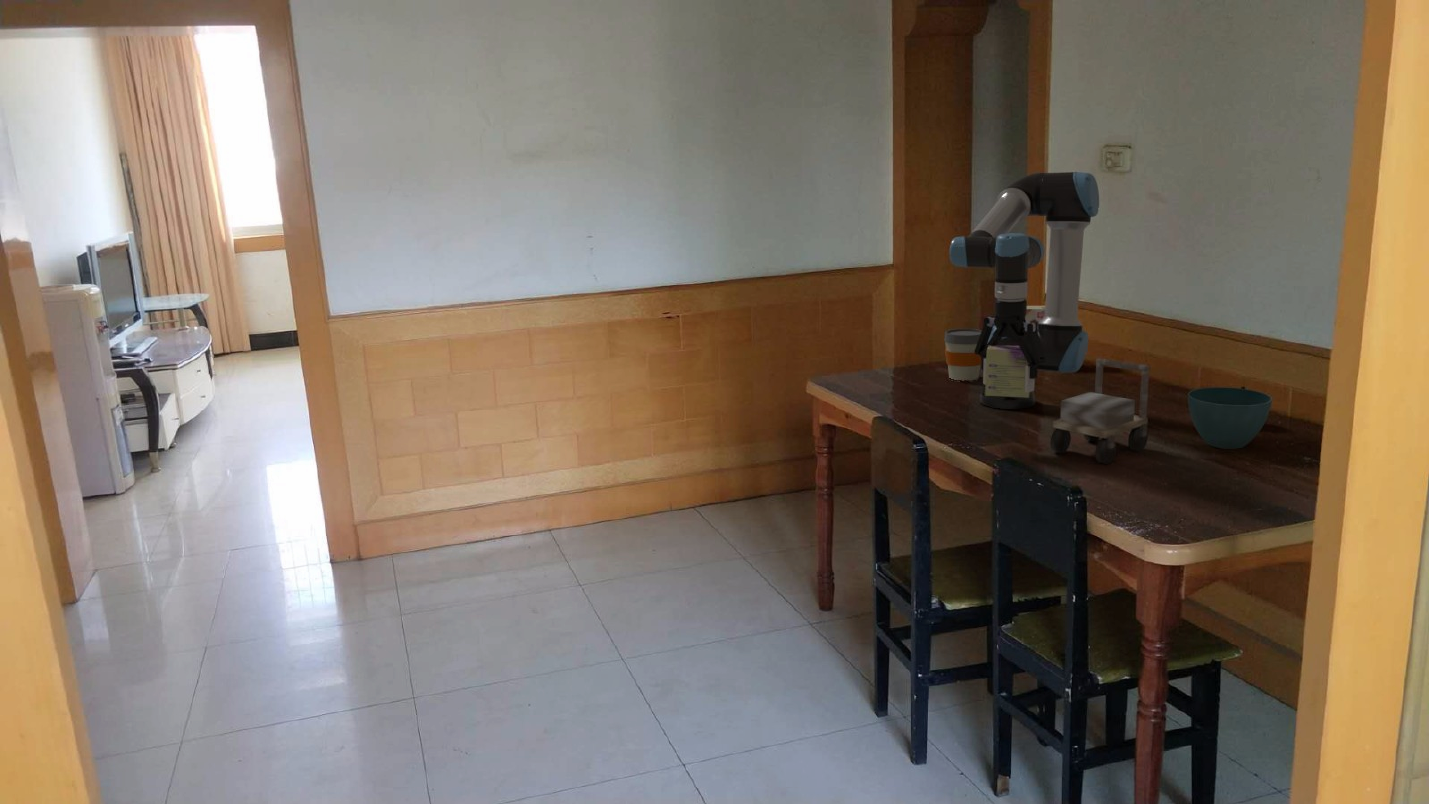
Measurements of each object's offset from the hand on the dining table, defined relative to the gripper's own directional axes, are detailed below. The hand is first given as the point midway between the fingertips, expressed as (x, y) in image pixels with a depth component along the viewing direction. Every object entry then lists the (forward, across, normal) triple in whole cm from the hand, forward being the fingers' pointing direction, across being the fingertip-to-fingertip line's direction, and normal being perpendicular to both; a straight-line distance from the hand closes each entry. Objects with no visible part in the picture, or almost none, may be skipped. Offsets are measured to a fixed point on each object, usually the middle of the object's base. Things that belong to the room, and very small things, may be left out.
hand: (1008, 387), depth 258 cm
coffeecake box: (+17, -49, +86) cm, 100 cm away
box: (+2, 0, 0) cm, 2 cm away
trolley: (+15, +18, +12) cm, 26 cm away
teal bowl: (+16, +36, +38) cm, 54 cm away
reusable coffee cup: (+16, -55, +52) cm, 78 cm away
